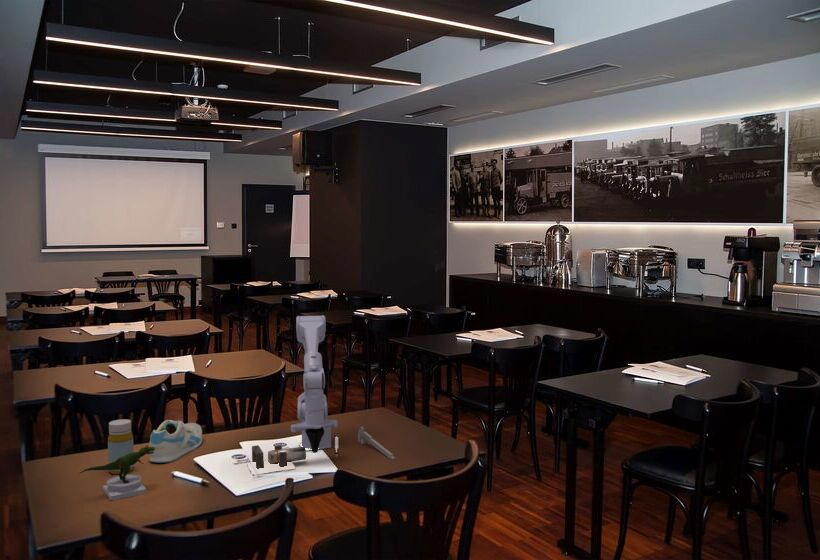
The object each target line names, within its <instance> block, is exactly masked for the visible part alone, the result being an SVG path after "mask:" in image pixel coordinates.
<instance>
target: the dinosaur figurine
mask: <svg viewBox="0 0 820 560" xmlns="http://www.w3.org/2000/svg"><path fill="white" fill-rule="evenodd" d="M154 450H155V449H154V447H149V445H145V446H143V447H140V449H139V450H138V451H135V452H133V453H129V454H127V455H126V456H123V457H120V458H118V459H117V460H116V461H114V462H112V463H109V462H108V463H107V464H104V465H98V466H93V467H88V468H86V469H85V468H84V470H81V471H80V472H79V474H82V473H85V472H87V471H89V472H90V471H109V470H120V473H119V474H118V475H116V476H113V477H111V478H109V479H107V481H106V485H103V486H102V489H103V492H104V493H105V495H106V496H107V498H108V497H109V498H108V500H113V501H116V499H117V500H120V499H121V498H122V499H126V498H131V497H134V496H139V495H144V494H147V488H146V487H145V486H144V485H143V483H142V479H143V478H142V476H141V475H138V474H129V473H130V472H129V471H130V466H131V465H134V466H135V465H136V463H137V462H139V463H140V464H145V463H143V462H142V461H141V460H140V459H141V458H142V457H144V456H145V455H150V454H152V453H154ZM123 472H124V473H123ZM122 473H123V474H122ZM122 499H121V500H122Z"/></svg>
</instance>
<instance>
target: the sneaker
mask: <svg viewBox="0 0 820 560" xmlns="http://www.w3.org/2000/svg"><path fill="white" fill-rule="evenodd" d="M202 443H203V429H202V427H201V425H200V424H198V423H197V422H195V423H194V422H187V423H184V422H183V421H182V420H172V419H166V420H164V421H163V422H161V424H159V426H158V427H157V429H153V430H152V432H151V434H150V438H149V445H148V447H154V449H155V450H154V453H152V454H149V462H150V463H161V464H162V463H163V464H164V463H171V462H174V461H176V460H178V459H179V458H182V457H183V456H185V455H186V454H188V453H191V452H192V451H194V450H196V449H198V448H199V447H200V446H202Z"/></svg>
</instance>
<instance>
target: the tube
mask: <svg viewBox="0 0 820 560" xmlns="http://www.w3.org/2000/svg"><path fill="white" fill-rule="evenodd" d="M283 451H286V452H287V462H292V463H293V462H299V461H305V460H306V459H307V451H306V450H305V447H300V446H297V447H289V448H282V449H281V450H275V449H274V450H269V451H268V452H267V460H268V462H269V463H270V464H278V463H279V452H283Z"/></svg>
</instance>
